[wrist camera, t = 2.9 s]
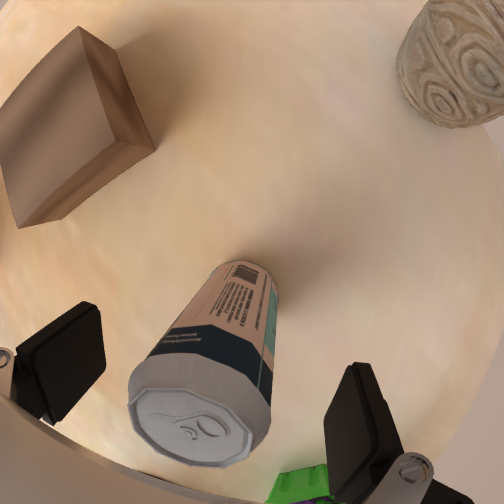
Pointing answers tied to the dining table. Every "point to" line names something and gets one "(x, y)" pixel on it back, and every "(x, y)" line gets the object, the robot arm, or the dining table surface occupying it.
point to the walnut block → (68, 130)
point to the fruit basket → (302, 487)
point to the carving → (455, 62)
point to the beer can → (211, 372)
